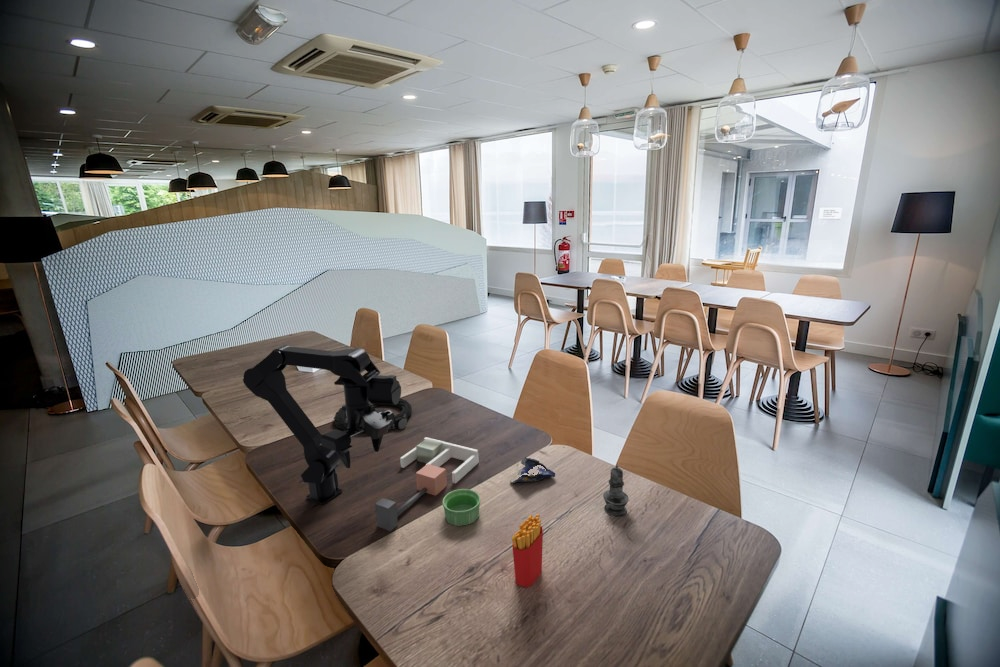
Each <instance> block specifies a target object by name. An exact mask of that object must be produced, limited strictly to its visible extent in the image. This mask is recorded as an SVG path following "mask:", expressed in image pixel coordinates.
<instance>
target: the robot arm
mask: <svg viewBox="0 0 1000 667" xmlns="http://www.w3.org/2000/svg"><path fill="white" fill-rule="evenodd" d="M288 366H292V367H300V368H301V367H302V368H308V369H316V370H326V371H328V372H331V373H332V374H333V375H335V376H337V377H338V379H337V380H335V381H334V383H333V384H334V385H336V386H343V393H344V394H343V395H344V405H341V408H342V410H344V411H346V419H345V420H346V421H344V426H347V427H348V429H347V430H345V431H344V430H341V429H336V428H334V429H333V430H330V431H328V432H326V433H323V434H322V433H321V432H320V431H319V430H318V429H317V427H316V426H315V425H314V423H313V422H312V420H310V418H309V417H308V415H307V414H306V412H304V410H303V409H302V408H301V406H300V405H299V404H298V402H297V401H296V400H295V398H294V397H293V396H292V394H291V393H290V392H289V391H288V389H287V383H286V377H285V375H284V373H283V371H284V369H286V368H287V367H288ZM365 371H366V373H364V374H363V375H362V373H363V372H365ZM380 374H381V370H379V368H378V367H377V366H376V365H375V363H374V362H373V360H372V359H371V358H370V356H369V354H368V352H366V350H365V349H364V348H359V347H357V348H356V347H355V348H345V349H340V350H333V351H332V350H325V349H324V350H323V349H316V348H307V347H298V346H292V345H289V344H285V345H281V346H279V347H277V348H274V349H273V350H272V351H271V352H270V353H269V354H268V355H266V357H265V358H263V359H262V360H261V361H259V362H258V363H257V364H256V365H255V366H252V367H250V368H248V369H246V370H245V372H244V373H243V378H242V382H243V384H244V385H245V387H246V388H247V389H248V390H249V391H250V392H251V393H252V394H253V395H255V396H256V397H257V398H261V399H263V400H264V401H267V402H268V403H269V404H270V406H271V407H272V408H273V409H274V411H275V412H276V413H277V415H278V416H279V417H280V419H281V420H282V421H283V422H284V423H285V425H286V426H287V427H288V429H289V430H290V432H292V434H293V435H294V436H295V438H296V439H297V441H298V442H299V443H300V445H301V446H302V447H303V455H304V460H305V462H306V464H307V466H308V467H307V468H306V469H305V470H303V472H302V473H301V474H300V477H301V479H302V481H303V482H304V483H305V484H306V483H307V485H308V490H309V494H307V495H306V499H307V500H309V501H311V502H315V503H318V504H320V505H325V504H326V503H328V502H329V501H331V500H332V499H334V498H335V497H337V496H338V495H340V494H342V492H343V489H341V488H339V478H338V473H337V471H336V468H337V467H338V466H339V464H340V463H341V462H342V464H343V465H344V467H345V468H346V469H351V454H350V451H351V449H352V448H353V445H351V443H352V437H354V436H357V435H358V434H361V433H360V432H362V431H364V432H365V433H364V434H367V435H368V436H370V437H369V438H370V439H371V444H372V447H373V450H374V452H377V453H379V451H380V448H381V445H382V444H381V443H382V441H383V437H384V435H387V434H388V432H389V430H390V429H389V427H391V426H392V425H393V423H394V422H395V416H396V415H395V413H394V412H393V411H391V410H390V409H384V408H382V407H378V408H376V406H374V404H372V403H378V404H394V405H396V404H398V402H399V400H400V398H401V396H402V395H401V394H402V386H401V384H400V381H399V380H397V376H396V375H391V374H390V375H380ZM370 402H372V403H370ZM388 429H389V430H388Z"/></svg>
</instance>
